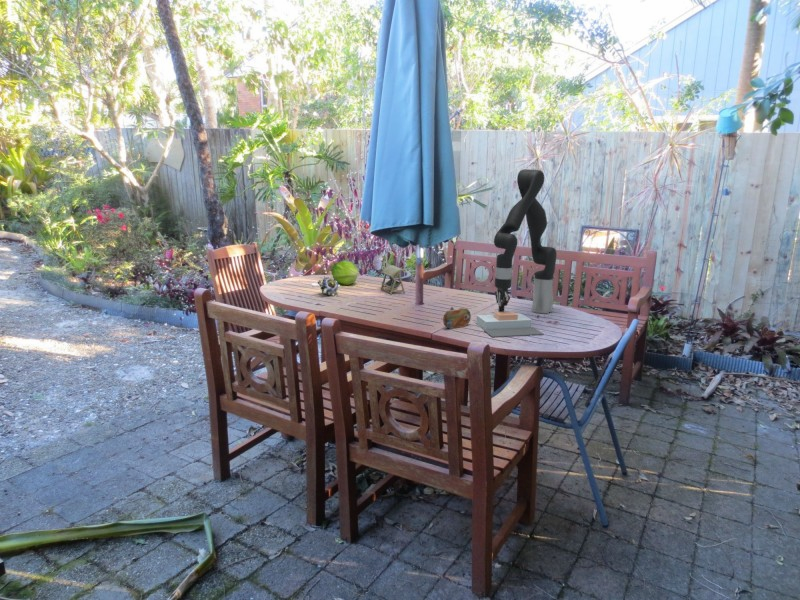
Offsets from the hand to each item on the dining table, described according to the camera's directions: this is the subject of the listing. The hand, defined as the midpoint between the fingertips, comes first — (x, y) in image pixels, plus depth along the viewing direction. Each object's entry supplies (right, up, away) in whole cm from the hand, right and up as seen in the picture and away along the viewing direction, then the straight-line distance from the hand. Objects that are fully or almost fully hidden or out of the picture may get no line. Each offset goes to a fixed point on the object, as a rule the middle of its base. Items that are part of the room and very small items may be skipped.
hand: (501, 313), depth 250 cm
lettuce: (-81, +16, +86) cm, 119 cm away
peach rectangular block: (+1, -2, -4) cm, 5 cm away
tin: (-21, -6, -4) cm, 22 cm away
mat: (+3, -8, -12) cm, 15 cm away
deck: (+1, -6, -1) cm, 6 cm away
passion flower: (-88, +9, +57) cm, 105 cm away
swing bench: (-51, +11, +66) cm, 84 cm away
